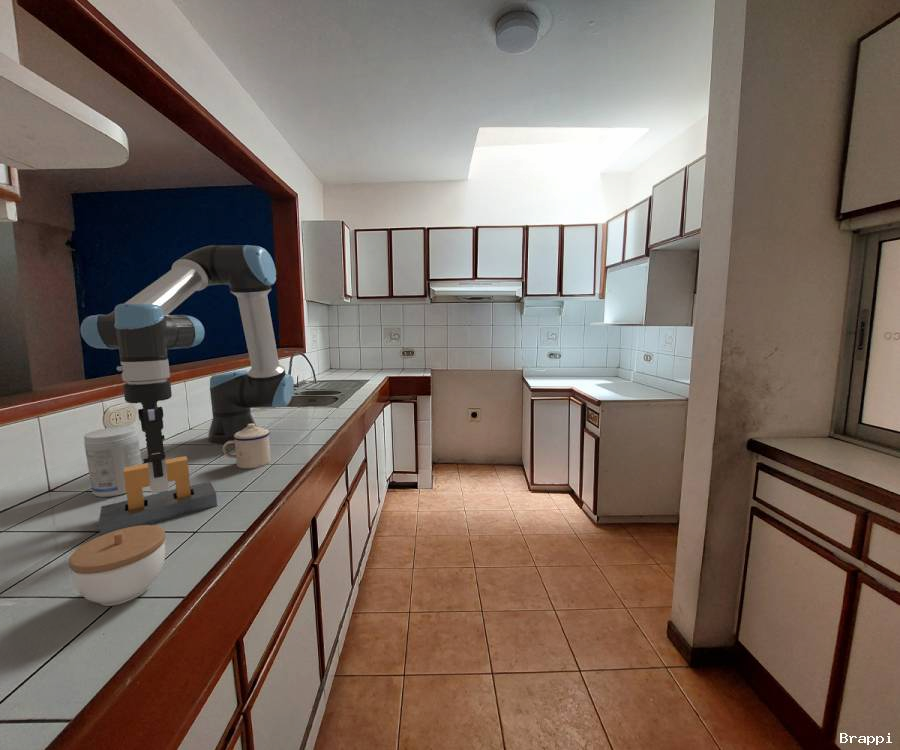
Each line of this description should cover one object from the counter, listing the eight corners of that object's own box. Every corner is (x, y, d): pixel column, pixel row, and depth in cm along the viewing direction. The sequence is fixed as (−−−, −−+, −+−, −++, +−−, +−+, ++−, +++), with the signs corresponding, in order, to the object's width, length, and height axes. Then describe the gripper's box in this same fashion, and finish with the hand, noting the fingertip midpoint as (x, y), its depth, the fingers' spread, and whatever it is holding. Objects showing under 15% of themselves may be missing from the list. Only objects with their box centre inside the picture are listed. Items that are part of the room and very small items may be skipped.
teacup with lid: (272, 456, 114) (270, 418, 112) (269, 466, 105) (267, 426, 104) (227, 461, 110) (224, 422, 108) (220, 472, 101) (217, 431, 99)
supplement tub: (136, 478, 98) (129, 423, 96) (151, 486, 93) (144, 429, 91) (86, 492, 90) (77, 432, 88) (99, 502, 85) (90, 439, 83)
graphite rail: (103, 520, 77) (101, 506, 77) (211, 493, 89) (210, 481, 89) (100, 537, 71) (98, 522, 70) (217, 505, 83) (216, 492, 82)
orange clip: (190, 502, 84) (186, 455, 83) (192, 507, 82) (187, 459, 81) (130, 517, 78) (124, 467, 76) (130, 523, 75) (123, 472, 74)
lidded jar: (107, 573, 61) (100, 519, 59) (182, 563, 63) (176, 511, 62) (55, 625, 50) (44, 561, 49) (147, 611, 53) (139, 549, 51)
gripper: (124, 376, 83) (135, 467, 86) (120, 392, 64) (135, 508, 67) (166, 373, 88) (175, 459, 91) (174, 387, 69) (186, 496, 72)
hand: (158, 480), depth 79 cm, fingers open, 13 cm apart
